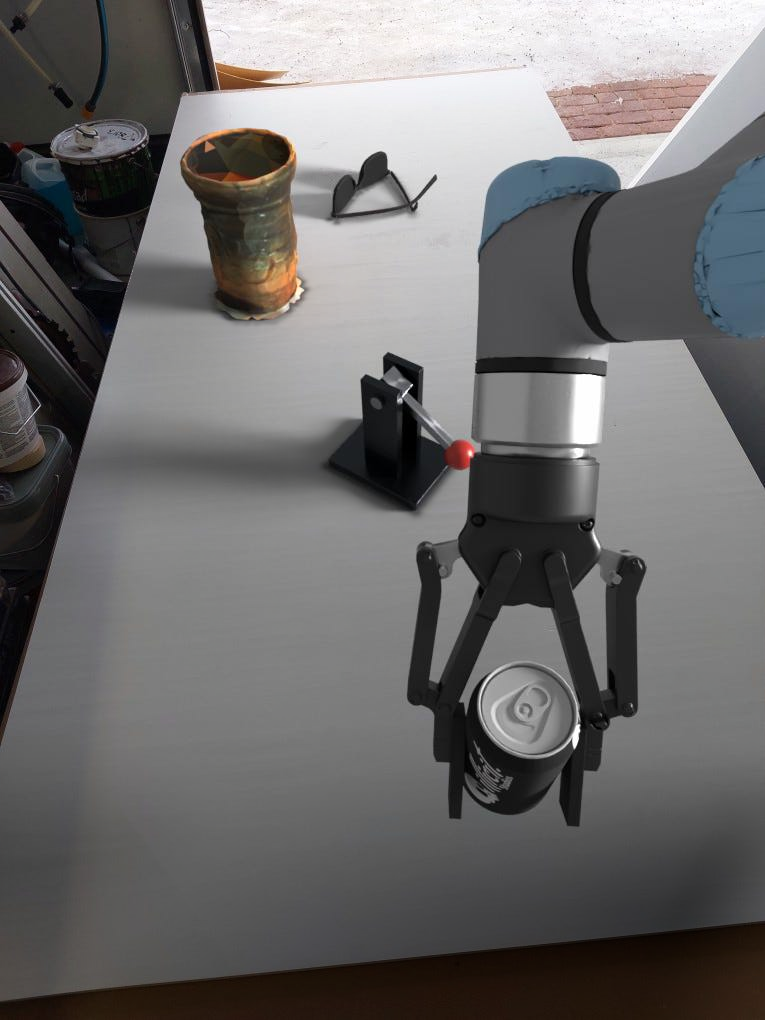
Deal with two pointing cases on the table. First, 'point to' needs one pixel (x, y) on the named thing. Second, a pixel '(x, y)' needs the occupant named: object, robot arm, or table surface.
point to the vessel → (247, 218)
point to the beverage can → (518, 736)
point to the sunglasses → (369, 174)
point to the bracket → (392, 441)
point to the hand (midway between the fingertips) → (511, 809)
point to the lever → (431, 423)
